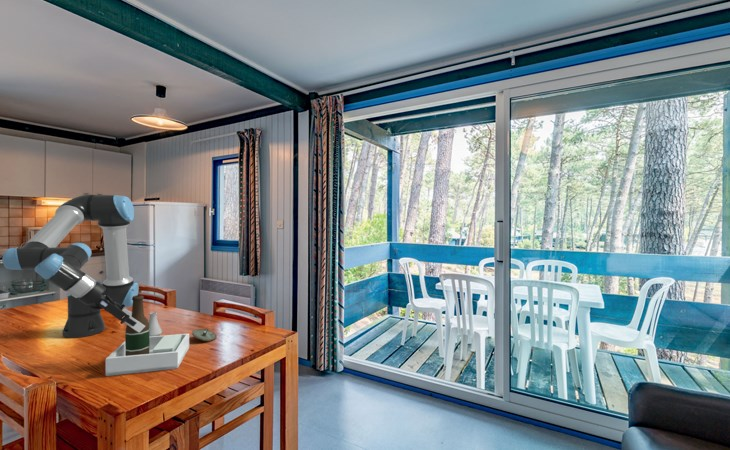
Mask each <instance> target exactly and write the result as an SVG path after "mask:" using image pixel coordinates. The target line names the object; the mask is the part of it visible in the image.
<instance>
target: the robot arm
mask: <svg viewBox="0 0 730 450" xmlns="http://www.w3.org/2000/svg"><path fill="white" fill-rule="evenodd" d="M134 218H135V208H134V204H133V202H132V200H131V199H130V198H129V197H128V196H125V195H117V194H83V195H79V196H76V197H74V198H71V199H69V200H67V201H65V202H64V203H62V204H61V205H60V206H58V208H57V209H56V210H55V212H54V215H53V216H52V217H51V219H49V221H47V222H46V223H45V224H44V225H43V226H42V227H41V228H40V229H39V230H38V231H37V232H36V233H35V234H34V235H33V236H32V237H31V238H30V239H29V240H27V241H26V243H24V245H22V247H18V246H17V247H10V248H8V249H6V250H5V251H4V253H3V255H2V257H1V258H2V263H3V267H4V268H6V269H7V270H12V271H13V270H15V271H16V270H17V271H26V270H27V271H29V270H31V271H33V270H34V272H35V273H37V274H38V275H39V276H41V277H42V279H44V280H47V281H48V282H50V283H51V284H53V285H55V286H57V287H58V288H60V289H62V290H63V291H64V292H66V297H67V319H66V322H65V323H64V327H63V330H62V337H63V338H70V339H73V338H74V339H75V338H84V337H89V336H94V335H96V334H99V333H102V332H104V331H105V329H106V324H105V321H104V319H103V316H102V314H101V310H104V311H105V312H107V313H109V314H110V315H112V316H113V317H114V318H116V319H117V320H118V321H119V324H121V325H123V324H125V325H126V326H127V325H128V326H130V327H131V328H133V329H134V330H136V331H137V332H140V331H141V330H142V329H143V328H144V327H145V325H143V324H142V323H140V322H139V321H137V320H136V319H134V318H133V317H131V316H132V311H130V310H129V309H128V308H130V307H131V308H132V306H133V300H132V298H133V296H136V295H139V290H140V288H139V287H140V286H139V283H138V282H134V277H132V276H130V269H129V266H130V265H129V252H128V251H129V250H128V240H127V239H128V238H127V237H128V236H127V235H128V234H127V227H128V226H130V224H131V222H133V220H134ZM87 221H89V222H90V221H93V222H95V221H96V222H97V226H98V227H100V228H101V229H102V235H103V246H104V261H105V271H106V273H105V274H106V279H104V280H103V281H102V282H101V281H100V280H96V279H94V277H91V276H90V275H89V274H87V273H85V272H83V271H82V270H81V269H82V268H83V267H84V265H86V263H88V261H89V259H90V258H91V256H92V249H91V248H90V246H89V245H87V244H86V243H83V242H73V243H71V244H70V245H68V246H65V247H61V246H60V247H58V245H60V243H62V242H63V240H64V239H65V238H66V237H67V236H68V235H69V233H70V232H71V231H72V230H73V229H74V227H76V226H78V225H80V224H82V223H83V222H87Z"/></svg>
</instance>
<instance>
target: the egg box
mask: <svg viewBox="0 0 730 450" xmlns="http://www.w3.org/2000/svg"><path fill="white" fill-rule="evenodd" d="M172 335H173V336H164V335H163V336H164V337H163V338H162V339H161V340H160V342H159V343H158V344H157V345H156V347H155V348H154V349H153V353H163V352H174V351H176V350H177V348H178V346H179V345H180V343H181V337H182V335H176V334H172Z"/></svg>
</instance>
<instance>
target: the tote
mask: <svg viewBox="0 0 730 450" xmlns="http://www.w3.org/2000/svg"><path fill="white" fill-rule="evenodd" d="M173 335H174V334H167V335H157V336H151V337H150V351H149V354H142V355H131V356H125V341H123V342H122V343H121V344H120V345H118V346H117V348H116V349H115V350H113V351H112V352H111V353H110V354H109V355H108V356H107V357H106V358H105V377H110V376H120V375H121V376H122V375H129V374H139V373H141V374H142V373H149V372H156V371H157V372H158V371H168V370H177V369H178V368H179V367H180V366H181V364H182V362H183V360H184V358H185V356H186V354H187V352H188V351H189V349H190V333H177V334H176V333H175V335H182V337H181V343H180V345H179V346H178V348H177V350H176V351H174V352H163V353H153V349H154V348H155V347H156V345H157V344H158V343H159V342H160V340H161V339H162V338H163V337H164V336H173Z"/></svg>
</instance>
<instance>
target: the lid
mask: <svg viewBox="0 0 730 450" xmlns="http://www.w3.org/2000/svg"><path fill="white" fill-rule="evenodd" d="M191 334H192V336H193V337H194V338H195V339H197V340H199V341H203V342H213V341H215V340H216V339H217V334H216V333H215V332H213V331H212V330H210V329H209V328H197V329H194V330H192V331H191Z"/></svg>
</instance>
